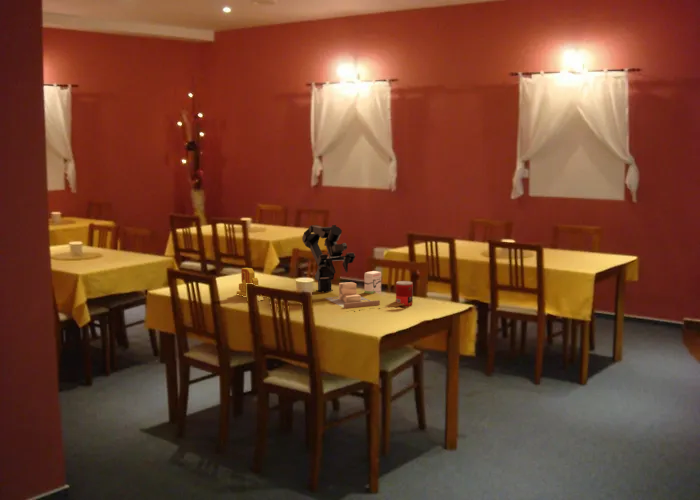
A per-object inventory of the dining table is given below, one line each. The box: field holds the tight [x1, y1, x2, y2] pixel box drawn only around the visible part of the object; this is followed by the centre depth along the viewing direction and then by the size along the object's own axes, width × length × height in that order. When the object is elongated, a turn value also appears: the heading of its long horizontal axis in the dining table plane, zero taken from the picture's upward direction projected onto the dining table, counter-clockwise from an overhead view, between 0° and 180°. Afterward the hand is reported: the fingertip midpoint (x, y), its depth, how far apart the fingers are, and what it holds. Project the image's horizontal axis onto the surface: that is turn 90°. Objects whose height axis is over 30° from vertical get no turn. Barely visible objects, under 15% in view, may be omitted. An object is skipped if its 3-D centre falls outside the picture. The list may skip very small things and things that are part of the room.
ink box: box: [363, 270, 382, 295], centre depth 385 cm, size 9×5×12 cm, turn 143°
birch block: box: [338, 281, 362, 303], centre depth 365 cm, size 10×7×8 cm
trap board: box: [324, 296, 371, 306], centre depth 367 cm, size 18×18×2 cm
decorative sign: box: [236, 267, 260, 297], centre depth 379 cm, size 20×3×15 cm, turn 41°
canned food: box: [395, 280, 414, 307], centre depth 361 cm, size 8×8×11 cm
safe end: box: [338, 299, 381, 312], centre depth 355 cm, size 7×18×4 cm, turn 114°
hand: (341, 272), depth 373 cm, fingers open, 6 cm apart
